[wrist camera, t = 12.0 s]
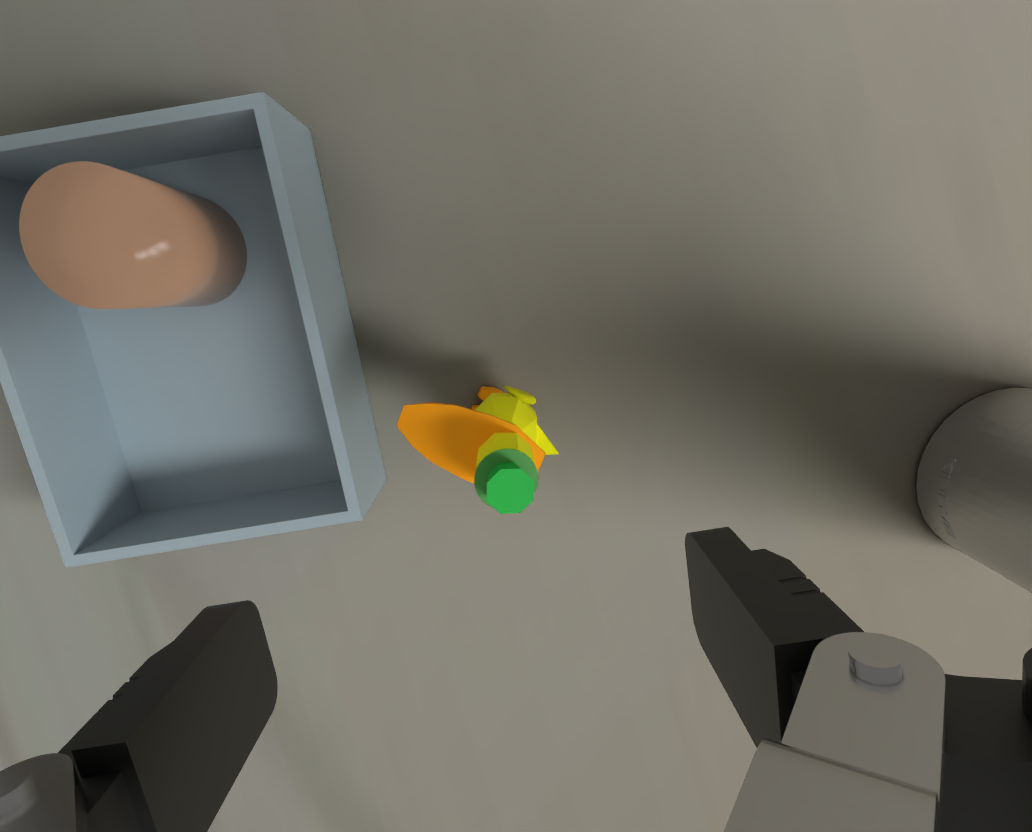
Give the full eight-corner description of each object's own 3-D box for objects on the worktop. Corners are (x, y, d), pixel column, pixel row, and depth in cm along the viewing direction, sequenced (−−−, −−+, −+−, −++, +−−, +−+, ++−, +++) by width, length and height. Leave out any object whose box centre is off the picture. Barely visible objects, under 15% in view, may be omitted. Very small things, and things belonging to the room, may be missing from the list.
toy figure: (415, 411, 30) (361, 490, 18) (441, 346, 30) (402, 385, 18) (537, 460, 31) (559, 567, 19) (565, 398, 30) (606, 468, 19)
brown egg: (230, 186, 27) (140, 148, 20) (259, 295, 28) (183, 295, 21) (123, 206, 27) (-2, 175, 20) (156, 314, 28) (46, 320, 21)
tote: (310, 130, 27) (263, 91, 22) (386, 479, 31) (362, 520, 26) (32, 176, 27) (-82, 149, 22) (140, 519, 31) (65, 567, 26)
